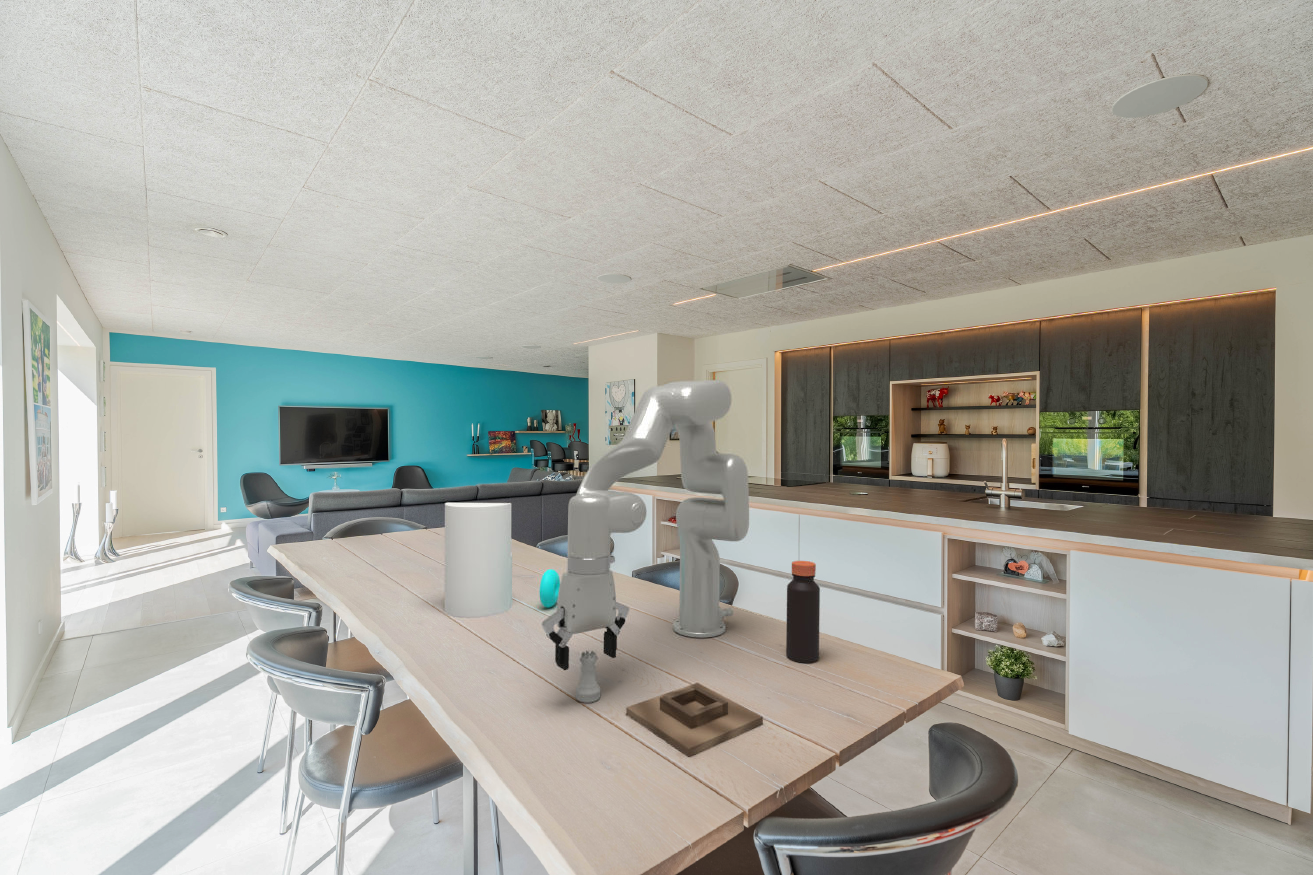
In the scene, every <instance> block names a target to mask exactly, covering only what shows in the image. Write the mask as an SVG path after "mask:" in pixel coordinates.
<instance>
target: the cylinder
mask: <svg viewBox="0 0 1313 875" xmlns="http://www.w3.org/2000/svg"><path fill="white" fill-rule="evenodd" d="M512 606H513V553H512V503H511V502H508V503H507V502H445V503H444V613H445V614H446V615H448V616H451V617H456V618H468V619H469V618H470V619H471V618H483V617H490V616H495V615H499V614H502V613H505V612H507V611H509V610H510V609H511V608H512Z"/></svg>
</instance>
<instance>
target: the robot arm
mask: <svg viewBox="0 0 1313 875" xmlns="http://www.w3.org/2000/svg"><path fill="white" fill-rule="evenodd" d="M731 406H732V394H731V389H730V388H729V386H728V385H727V383H725V382H723V381H722V380H719V379H718V380H717V379H716V380H715V379H713V380H712V379H710V380H709V379H708V380H681V381H679V380H678V381H671V382H668V383H665V384H662V385H657V386H653V387H650V388H648V389H646V390H645V391H644V392H643V394H642V396H641V398H640V400H639V402H638V403H637V406H636V409H635V410H634V412H633V415H632V417H631V419H630V422H629V424H628V427H627V429H626V431H625V433H624V435H623V437H622V440H621V441H620V442H619V443H617V444H616V445H614V446H613V447H611V448H610V449H609V450H608V451H607V452H605V453H604V454H603V455H602V456H601V457H600V458H598V459H597V460H596V461H595V462H594V463H593V464H592V465H591V466H590V467H589V468H588V470H587V472H586V473H585V475H584V477H583V479H582V481H581V483H580V485H579V486H578V489H577V492H576V494H575V495H574V496H572V497H571V498H570V499H569V501H568V511H567V512H568V513H567V514H568V515H567V518H568V519H567V523H568V524H567V562H566V563H567V565H566V566H567V567H566V572H563V573H562V575H561V580H560V588H559V594H558V599H557V601H556V603H557V604H556V611H555V612H554V613H552V614H550V615H549V616H548V617H546V618H545V619H544V620H543V621H542V622H541V626H542V629H543V630H544V633H545V634H546V637H547V638H548V639H550V640H551V641H552V642H553V643H554V644H555V646H554V648H555V651H554V653H555V654H554V659H555V660H554V662H555V664H556V666H557V667H559V668H560V669H561V670H563V671H568V670H569V668H570V666H569V665H570V647H569V646H568V645H567V644H568V642H569V641H570V640H571V638H572V636H574V635H577V634H582V633H586V632H587V633H588V632H591V631H597V630H600V629H605V630H606V631H604V633H603V650H602V651H603V654H604V655H606V656H608V657H609V658H612V659H615V658H616V657H617V650H618V635H619V634H620V633H621V629H622V628H623V626H624V625H625V624H626V618H627V617H628V614H629V612H630V607H629V606H627V605H625V604H622V603H619V602H618V601H617V598H616V597H617V595H616V585H615V584H616V583H615V579H614V574H613V571H612V570H611V569H610V568H611V564H613V563H615V562H616V557H615V556H614V554H613V555H611V535H612V534H613V533H614V534H616V533H618V534H619V533H621V534H628V533H633V532H635V531H636V530H638V529H640V528H641V527H642V525H643V524H644V522H646V521H645V520H646V517H647V507H646V503H645V502H644V500H643V499H642V498H641V497H640V496H639V495H637V494H635V493H632V492H628V491H627V492H626V491H615V490H610V488H611V487H612V486H613V485H614V484H615V483H616V482H618V481H619V480H620V479H621V478H623V477H626V476H627V475H629V474H631V473H634V472H638V471H640V470H643V469H645V468H647V467H649V466H652V465H654V464H655V463H657V462H658V461H659V460H660V459H661V458H662V454H663V452H664V449H665V447H666V444H667V442H668V439H669V437H670V435H671V432H672V430H673V428H674V427H675V428H676V431H677V435H678V438H679V453H680V454H679V457H680V458H679V460H680V477H681V484H682V486H683V488H684V489H685V490H687V491H689V492H692V493H700V494H708V495H709V494H710V495H711V494H712V495H722V498H723V499H719V498H711V497H699V496H698V497H689V498H686V499H684V500H682V501H681V502H680V503H679V504H678V507H677V509H676V511H675V520H676V527H677V533H678V540H679V613H678V615H679V616H678V617H679V618H677V619H676V620H674V621H673V623H672V629H673V630H674V632H676V633H677V634H679V635H681V636H686V637H689V638H701V639H702V638H704V639H705V638H713V637H718V636H721V635H722V634H724V633H725V632H726V624H725V623H724V621H723V619H725V618H727V617H731V616H732V615H733V614H734V611H733V609H732V607H726V608H724V609H722V608H721V607H720V564H721V563H720V562H721V561H720V560H721V559H720V554H719V550H718V548H717V546H716V544H715V543H714V541H713V540H715V541H722V542H723V541H724V542H739V541H742V540H744V539H745V538H746V536H747V534H748V532H749V526H750V497H749V496H750V495H749V494H750V493H749V488H750V487H749V472H748V467H747V465H746V462H745V461H744V459H743V458H742V457H741V456H740V455H738V454H733V453H718V452H717V446H716V432H715V429H714V427H713V425H712V422H715V421H718V420H721V419H723V418H724V417H725V416H726V415H727V414H728V412H729V410H730V408H731ZM617 611H618V612H617ZM555 625H556V626H557V627H558V630H557V631H555V629H554V628H555Z"/></svg>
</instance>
